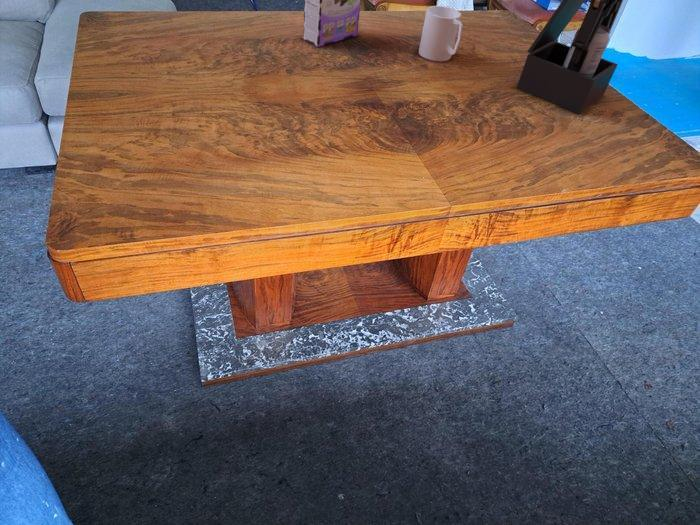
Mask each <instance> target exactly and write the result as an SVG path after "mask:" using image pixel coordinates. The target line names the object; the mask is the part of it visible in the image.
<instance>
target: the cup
mask: <svg viewBox="0 0 700 525" xmlns="http://www.w3.org/2000/svg"><path fill="white" fill-rule="evenodd" d="M461 16H462V14H461V12H460V11H458V10H457V9H455V8H453V7H449V6H443V5H431V6H428V7H427V8H426V11H425V16H424V21H423V27H422V32H421V37H420V43H419V47H418V54H419V56H421V57H422V58H424V59H425V60H428V61H429V60H430V61H434V62H446V61H450V59H451V58H452V56H454V55H455V54H457V53H458V49H459V47H460V44H461V42H462V36H463V28H464V25H463V22H461V21H460V19H461ZM456 37H457V39H456ZM455 42H456V43H455Z"/></svg>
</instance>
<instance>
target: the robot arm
mask: <svg viewBox="0 0 700 525" xmlns="http://www.w3.org/2000/svg"><path fill="white" fill-rule="evenodd" d="M623 1H624V0H590V3H589V6H588V9H587V11H586V13H585V15H584V18H583V19H582V22H581V25H580V27H579V28H580V29H579V28H578V29H579V31H578V34H577V36H576V38H575V40H574V42H573V43H572V42H571V44H572V46H573V47H575V49H574V52H573V54H572V57H571V59H570V62H569V64H568V66H567V69H570V70H572V71H575V72H578V73H579V72H580V70H581V68H582V65H583V63H584V61H585V58H586V56H587V54H588V51H589V50H587V49H588V48H589V45H590V43H591V42H592V40H593V38H594V36H595V34H596V32H597V30H598V28H599V26H600V24H601V25H603V26H606V27H607V28H609V30H610V31H609V35H610V34H611V31H612V28H613V25H614V23H615V21H616V18H617V16H618V14H619V11H620V9H621V6H622V4H623Z"/></svg>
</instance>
